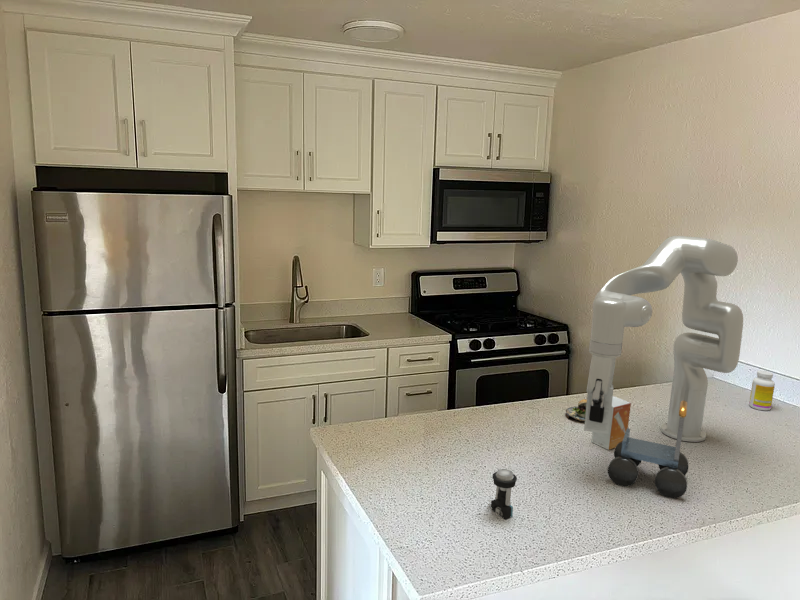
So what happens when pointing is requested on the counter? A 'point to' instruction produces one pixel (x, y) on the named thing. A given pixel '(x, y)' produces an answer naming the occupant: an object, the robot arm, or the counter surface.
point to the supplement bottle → (762, 391)
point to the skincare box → (605, 424)
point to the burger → (577, 411)
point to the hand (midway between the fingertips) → (597, 417)
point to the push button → (503, 493)
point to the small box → (614, 425)
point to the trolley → (652, 461)
